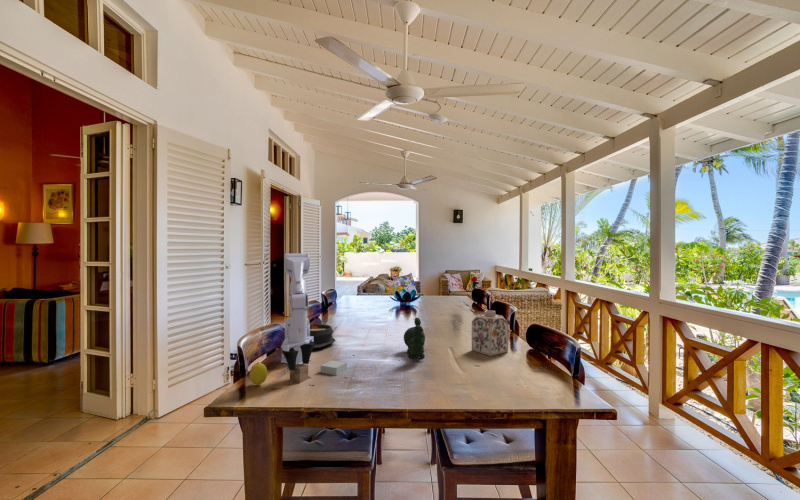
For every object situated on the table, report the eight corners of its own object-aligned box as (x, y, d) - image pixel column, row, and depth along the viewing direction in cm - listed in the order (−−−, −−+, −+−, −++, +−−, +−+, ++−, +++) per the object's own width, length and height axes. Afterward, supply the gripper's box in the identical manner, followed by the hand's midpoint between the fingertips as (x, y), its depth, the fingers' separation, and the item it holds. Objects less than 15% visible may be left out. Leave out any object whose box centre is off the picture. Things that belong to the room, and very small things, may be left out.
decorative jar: (509, 352, 171) (509, 311, 171) (490, 356, 165) (490, 314, 165) (488, 346, 181) (488, 308, 181) (470, 350, 175) (470, 310, 174)
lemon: (250, 389, 128) (250, 365, 127) (248, 384, 132) (248, 361, 132) (268, 387, 130) (268, 363, 130) (265, 381, 135) (265, 358, 135)
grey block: (320, 373, 145) (320, 365, 145) (331, 368, 151) (331, 360, 151) (336, 376, 142) (336, 368, 142) (346, 370, 148) (346, 362, 148)
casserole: (303, 338, 197) (303, 321, 197) (340, 338, 197) (340, 322, 197) (287, 352, 172) (287, 333, 172) (329, 352, 172) (329, 333, 172)
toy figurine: (430, 367, 156) (422, 345, 180) (430, 321, 154) (423, 305, 178) (406, 368, 155) (402, 346, 180) (406, 321, 153) (402, 306, 178)
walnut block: (289, 381, 136) (289, 367, 136) (297, 377, 140) (297, 363, 140) (300, 383, 134) (300, 368, 134) (308, 379, 138) (308, 365, 138)
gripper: (294, 333, 128) (295, 374, 128) (320, 325, 142) (320, 362, 142) (277, 331, 131) (278, 371, 131) (304, 323, 144) (304, 360, 145)
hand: (299, 366), depth 137 cm, fingers open, 7 cm apart
